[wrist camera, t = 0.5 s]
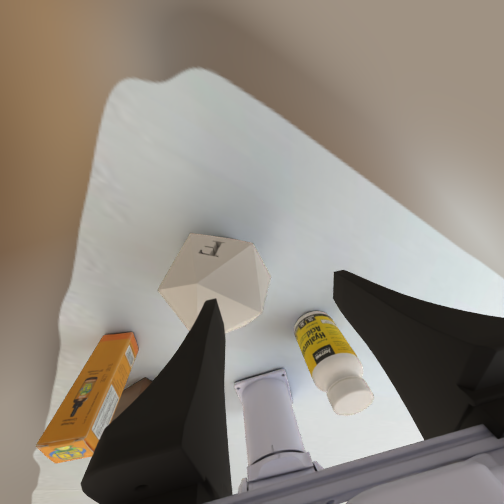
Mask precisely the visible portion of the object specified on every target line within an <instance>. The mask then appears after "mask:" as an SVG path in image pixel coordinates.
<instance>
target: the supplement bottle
mask: <svg viewBox="0 0 504 504" xmlns="http://www.w3.org/2000/svg"><path fill="white" fill-rule="evenodd" d="M294 334H295V337H296V339H297V342H298V344H299V347H300V349H301V352H302V354H303V357H304V359H305V362H306V364H307V366H308V369H309V371H310V374H311V376H312V379H313V381H314V383H315V385H316V386H317V387H318V388H319V389H320V390H322V391H323V392H326V393H327V397H328V400H329V402H330V404H331V406H332V408H333V410H334V412H335V413H336V414H338V415H341V416H348V415H353V414H356V413H359V412H361V411H363V410H364V409H366V408H367V407H369V406H370V405H371V403H372V402H373V400H374V395H373V393H372V391H371V389H370V388H369V386H368V385H367V383H366V382H365V380H364V379H363V378H362V375H363V366H362V363H361V362H360V360H359V358H358V357H357V355H356V354H355V352H354V351H353V350H352V348H351V347H350V345H349V344H348V342H347V341H346V339H345V338H344V336H343V335H342V333H341V332H340V330H339V329H338V327H337V326H336V324H335V323H334V321H333V320H332V319H331V317H330V316H329V315H328V314H326V313H324V312H321V311H313V312H309V313H306V314H304V315H303V316H302V317H300V318H299V319H298V321H297V322H296V324H295V326H294Z"/></svg>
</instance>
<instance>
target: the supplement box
mask: <svg viewBox="0 0 504 504" xmlns="http://www.w3.org/2000/svg"><path fill="white" fill-rule="evenodd" d="M138 350H139V348H138V345H137V343H136V340H135V337H134V334H133V332H127V333H120V334H108V335H104V336H103V337H102V338H101V340H100V342H99V343H98V345H97V347H96V348H95V350H94V351H93V353H92V355H91V356H90V358H89V360H88V361H87V363H86V365H85V366H84V368H83V369H82V371H81V373H80V374H79V376H78V378H77V379H76V381H75V383H74V384H73V386H72V387H71V389H70V391H69V392H68V394H67V396H66V397H65V399H64V401H63V402H62V404H61V405H60V407H59V409H58V410H57V412H56V414H55V415H54V417H53V419H52V420H51V422H50V423H49V425H48V427H47V428H46V430H45V432H44V433H43V435H42V436H41V438H40V440H39V441H38V443H37V444H36V447H37V448H38V449H39V450H40V451H41V452H42V453H44V455H45V456H47V457H48V458H49V459H50V460H51V461H53V462H54V463H61V462H65V461H71V460H75V459H80V458H85V457H91V456H92V455H93V453H94V450H95V448H96V446H97V443H98V441H99V439H100V437H101V435H102V433H103V431H104V429H105V428H106V427H107V426H108V425H109V424H110V423H111V420H112V418H113V415H114V413H115V410H116V407H117V405H118V402H119V400H120V397H121V394H122V392H123V389H124V387H125V384H126V382H127V379H128V376H129V374H130V371H131V368H132V366H133V363H134V361H135V358H136V355H137V353H138Z"/></svg>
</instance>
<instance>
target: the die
mask: <svg viewBox="0 0 504 504" xmlns="http://www.w3.org/2000/svg"><path fill="white" fill-rule="evenodd" d="M270 280H271V276H270V274H269V272H268V270H267V268H266V266H265V264H264V262H263V261H262V259H261V257H260V255H259V253H258V251H257V249H256V248H255V246H254V244H253V243H250V242H246V241H241V240H237V239H231V238H224V237H217V236H209V235H202V234H195V233H190V234H189V236H188V238H187V239H186V241H185V243H184V245H183V246H182V248H181V250H180V252H179V253H178V255H177V257H176V259H175V260H174V262H173V264H172V266H171V267H170V269H169V271H168V273H167V274H166V276H165V278H164V280H163V281H162V283H161V285H160V287H159V288H158V292H159V293H160V294H161V295H162V297H163V298H164V299H165V300H166V302H167V303H168V304H169V306H170V307H171V308H172V309H173V311H174V312H175V313H176V315H177V316H178V317H179V318H180V320H181V321H182V322H183V324H184V325H185V326H186V327H187V329H188V330H189V331H190V330H191V328H192V326H193V324H194V322H195V321H196V319H197V317H198V315H199V313H200V311H201V309H202V307H203V305H204V302H205V301H206V300H210V299H215V298H216V299H217V302H218V306H219V309H220V312H221V316H222V319H223V322H224V329H225V333H227V332H230V331H233V330H236V329H238V328H241V327H244V326H246V325H247V324H248V323H250V322H251V321H252V320H254V319H255V318H256V317H258V316H259V315H260V314H262V312H263V308H264V304H265V300H266V296H267V292H268V288H269V284H270Z"/></svg>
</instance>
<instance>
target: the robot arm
mask: <svg viewBox="0 0 504 504" xmlns="http://www.w3.org/2000/svg"><path fill="white" fill-rule="evenodd" d="M333 299H334V301H335V303H336V304H337V306H338V308H339V309H340V311H341V312H342V314H343V315H344V316H345V318H346V319H347V320H348V322H349V323H350V324H351V325H352V327H353V328H354V329H355V330H356V332H357V333H358V334H359V335H360V337H361V338H362V339H363V340H364V342H365V343H366V344H367V345H368V347H369V348H370V350H371V351H372V352H373V354H374V355H375V357H376V358H377V360H378V361H379V363H380V365H381V366H382V368H383V369H384V371H385V372H386V374H387V376H388V377H389V379H390V380H391V382H392V384H393V385H394V387H395V389H396V390H397V392H398V394H399V395H400V397H401V399H402V401H403V402H404V404H405V406H406V407H407V409H408V411H409V413H410V415H411V416H412V418H413V420H414V422H415V424H416V426H417V427H418V429H419V431H420V433H421V435H422V437H423V438H424V441H421V442H417V443H414V444H410V445H407V446H403V447H400V448H396V449H392V450H389V451H385V452H382V453H378V454H375V455H371V456H368V457H364V458H361V459H357V460H354V461H350V462H347V463H343V464H340V465H336V466H333V467H329V468H326V469H324V468H323V467H322V466H321V465H320V464H319V463H318V462H317V461H313V462H312V460H311V456H310V453H309V452H306V451H305V448H304V444H303V441H302V437H301V434H300V431H299V427H298V424H297V420H296V417H295V414H294V410H293V407H292V404H293V400H292V396H291V392H290V388H289V384H288V380H287V376H286V372H285V369H280V370H276V371H273V372H270V373H266V374H263V375H259V376H256V377H252V378H249V379H246V380H242V381H239V382H236V383H234V388H235V390H236V393H237V395H238V397H239V399H240V401H241V403H242V406H243V416H244V427H245V438H246V448H247V459H248V466H247V474H248V481H247V478H243V479H242V481H241V484H240V486H239V488H238V494H234V495H232V485H231V474H230V463H229V451H228V438H227V425H226V410H225V393H224V370H225V329H224V322H223V319H222V316H221V312H220V309H219V306H218V302H217V299H216V298H215V299H210V300H206V301H205V302H204V305H203V307H202V309H201V311H200V313H199V315H198V317H197V319H196V321H195V322H194V324H193V326H192V328H191V330H190V331H189V333H188V335H187V336H186V338H185V339H184V341H183V343H182V344H181V346H180V347H179V349H178V350H177V351H176V353H175V354H174V356H173V357H172V358H171V360H170V361H169V362H168V364H167V365H166V366H165V367H164V369H163V370H162V371H161V372H160V373H159V374H158V376H157V377H156V378H155V379H154V380H153V381H152V383H151V384H150V385H149V386H148V387H147V388H146V389H145V390H144V391H143V392H142V393H141V394H140V395H139V396H138V397H137V398H136V399H135V400H134V401H133V402H132V403H131V404H130V405H129V406H128V407H127V408H126V409H125V410H124V411H123V412H122V413H121V414H120V415H119V416H118V417H117V418H115V419H114V420H113V421H112V422H111V423H110V424H109V425H108V426H107V427H106V428H105V429H104V431H103V433H102V435H101V437H100V439H99V441H98V443H97V446H96V448H95V450H94V453H93V455H92V458H91V460H90V463H89V465H88V467H87V470H86V472H85V474H84V477H83V479H82V482H81V487H82V490H83V492H84V493H85V494H86V495H87V496H88V497H90V498H91V499H93V500H94V501H96V502H97V503H99V504H340V503H343V502H346V501H348V502H347V503H346V504H504V318H501V317H495V316H488V315H483V314H477V313H472V312H467V311H462V310H458V309H453V308H449V307H445V306H441V305H437V304H433V303H430V302H426V301H423V300H420V299H416V298H413V297H410V296H407V295H404V294H401V293H398V292H396V291H393V290H390V289H388V288H385V287H383V286H380V285H378V284H376V283H373V282H371V281H369V280H366V279H364V278H362V277H360V276H357V275H355V274H353V273H350V272H348V271H345V270H341V271H336V272H334V287H333Z"/></svg>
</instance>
